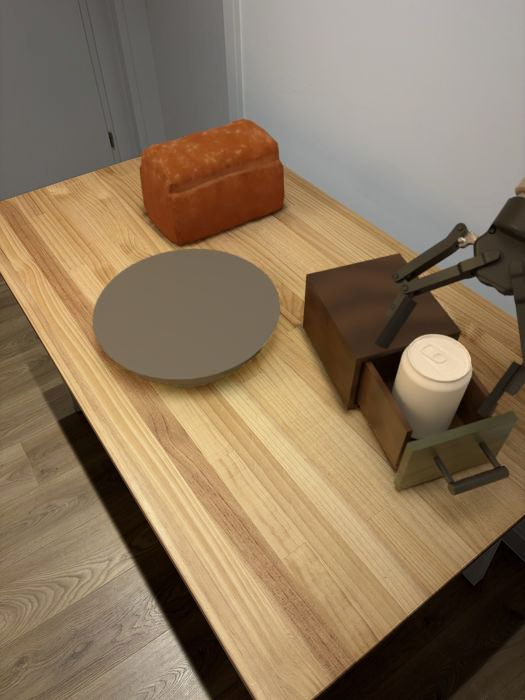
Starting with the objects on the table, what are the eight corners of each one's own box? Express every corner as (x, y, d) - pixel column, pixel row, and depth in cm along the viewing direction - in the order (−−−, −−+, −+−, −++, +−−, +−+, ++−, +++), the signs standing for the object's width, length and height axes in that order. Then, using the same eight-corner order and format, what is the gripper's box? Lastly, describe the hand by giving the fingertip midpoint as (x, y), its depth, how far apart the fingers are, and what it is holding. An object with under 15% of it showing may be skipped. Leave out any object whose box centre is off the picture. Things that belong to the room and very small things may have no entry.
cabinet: (441, 383, 79) (461, 331, 71) (346, 410, 76) (356, 359, 68) (387, 305, 89) (399, 252, 81) (302, 327, 86) (305, 274, 78)
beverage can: (419, 454, 69) (442, 396, 60) (373, 411, 73) (389, 350, 64) (462, 421, 72) (490, 362, 63) (416, 382, 76) (436, 321, 67)
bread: (138, 206, 108) (124, 134, 97) (245, 170, 117) (243, 100, 106) (177, 252, 99) (165, 178, 88) (290, 210, 107) (293, 137, 96)
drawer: (517, 491, 66) (545, 452, 60) (417, 526, 64) (434, 489, 57) (431, 368, 79) (446, 325, 73) (344, 392, 77) (352, 350, 70)
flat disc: (314, 350, 83) (316, 329, 80) (141, 430, 74) (135, 411, 70) (227, 250, 99) (225, 229, 96) (75, 306, 90) (67, 285, 86)
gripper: (664, 275, 55) (534, 446, 59) (450, 178, 67) (355, 326, 72) (672, 256, 49) (526, 449, 53) (435, 153, 61) (332, 317, 65)
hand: (428, 378), depth 62 cm, fingers open, 13 cm apart
